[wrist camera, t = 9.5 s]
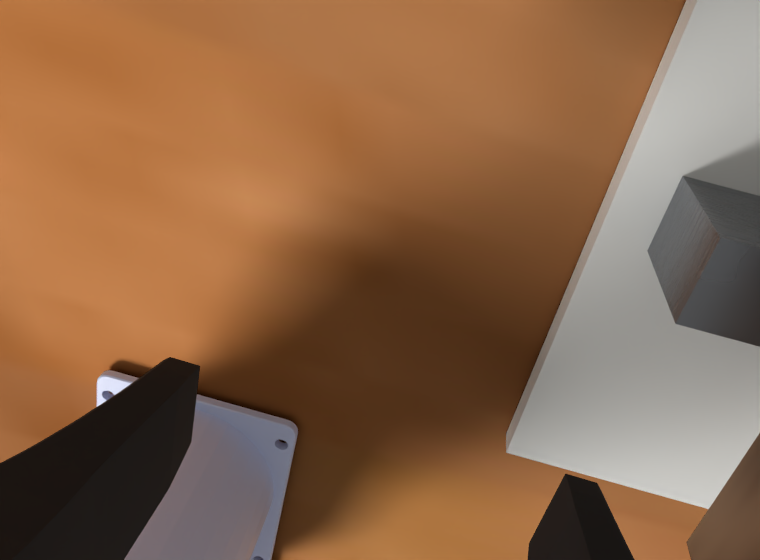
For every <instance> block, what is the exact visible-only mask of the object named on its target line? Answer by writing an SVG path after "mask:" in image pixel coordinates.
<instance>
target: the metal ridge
mask: <svg viewBox="0 0 760 560" xmlns="http://www.w3.org/2000/svg"><path fill="white" fill-rule="evenodd" d="M647 251H648V254H649V257H650V259H651V262H652V264H653V267H654V270H655V272H656V275H657V277H658V280H659V283H660V285H661V288H662V290H663V293H664V296H665V298H666V301H667V303H668V306H669V309H670V311H671V314H672V316H673V319H674V322H675V324H678V325H681V326H685V327H689V328H693V329H696V330H700V331H704V332H707V333H711V334H715V335H718V336H722V337H726V338H729V339H733V340H737V341H741V342H744V343H748V344H752V345H755V346H759V347H760V196H758V195H754V194H750V193H747V192H743V191H739V190H735V189H731V188H728V187H724V186H720V185H716V184H712V183H709V182H705V181H701V180H697V179H693V178H690V177H686V176H682V178H681V180H680V182H679V184H678V186H677V189H676V191H675V193H674V195H673V197H672V199H671V201H670V203H669V206H668V208H667V210H666V212H665V214H664V216H663V218H662V221H661V223H660V225H659V227H658V229H657V231H656V233H655V235H654V238H653V240H652V242H651V244H650V246H649V248H648V250H647Z"/></svg>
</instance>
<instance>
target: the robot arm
mask: <svg viewBox="0 0 760 560" xmlns="http://www.w3.org/2000/svg"><path fill="white" fill-rule="evenodd" d="M199 371H200V366H198V365H195V364H192V363H188V362H185V361H181V360H178V359H175V358H171V357H169V358H167V359H165V360H163V361H162V362H161V363H159V364H158V365H156V366H155V367H154V368H152V369H151V370H150V371H148V372H147V373H145V374H144V375H143V376H141V377H140V378H137V377H134V376H130V375H126V374H123V373H119V372H116V371H111V370H108V371H104V372H103V373H102V374H101V375H100V377H99V378H98V380H97V407H96V408H95V409H93V410H91V411H90V412H88V413H87V414H85V415H84V416H82V417H81V418H79V419H78V420H76V421H74V422H73V423H71V424H69V425H68V426H66V427H64V428H63V429H61V430H59V431H58V432H56V433H54V434H53V435H51V436H49V437H47V438H46V439H44V440H42V441H41V442H39V443H37V444H35V445H34V446H32V447H30V448H28V449H26V450H25V451H23V452H21V453H19V454H17V455H15V456H13V457H11V458H9V459H8V460H6V461H4V462H2V463H0V560H271V559H272V555H273V550H274V545H275V540H276V535H277V531H278V526H279V521H280V516H281V512H282V507H283V502H284V497H285V493H286V488H287V483H288V478H289V474H290V469H291V464H292V459H293V454H294V450H295V445H296V440H297V435H298V428H297V426H296V425H295V424H294V423H293V422H292V421H289V420H287V419H283V418H280V417H276V416H273V415H269V414H265V413H262V412H258V411H255V410H251V409H248V408H244V407H241V406H237V405H233V404H230V403H226V402H223V401H219V400H216V399H212V398H208V397H205V396H201V395H198V394H197V388H198V380H199ZM108 391H110V392H112V393H113V394H114V395H112V394H110V393H109V392H108ZM279 439H280V440H284V441H286V443H283V442H281V441H279ZM528 560H634V558H633V556H632V554H631V552H630V550H629V548H628V546H627V544H626V542H625V540H624V538H623V536H622V534H621V532H620V529H619V527H618V525H617V523H616V521H615V519H614V517H613V515H612V513H611V511H610V508H609V506H608V504H607V502H606V500H605V498H604V496H603V494H602V492H601V490H600V488H599V486H598V484H597V483H595V482H592V481H588V480H585V479H582V478H578V477H575V476H571V475H568V474H565V476H564V477H563V479H562V481H561V483H560V485H559V487H558V489H557V491H556V493H555V495H554V497H553V499H552V500H551V502H550V504H549V506H548V508H547V510H546V512H545V514H544V516H543V518H542V520H541V522H540V523H539V525H538V527H537V529H536V531H535V533H534V535H533V537H532V539H531V541H530V543H529V551H528Z"/></svg>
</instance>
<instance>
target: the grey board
mask: <svg viewBox="0 0 760 560" xmlns="http://www.w3.org/2000/svg"><path fill="white" fill-rule="evenodd" d="M682 176H686V177H690V178H693V179H697V180H701V181H705V182H709V183H712V184H716V185H720V186H724V187H728V188H731V189H735V190H739V191H743V192H747V193H750V194H754V195H758V196H760V0H686V2H685V4H684V7H683V9H682V12H681V14H680V17H679V19H678V21H677V24H676V26H675V29H674V31H673V33H672V36H671V38H670V41H669V43H668V45H667V48H666V50H665V53H664V55H663V57H662V60H661V62H660V65H659V67H658V69H657V72H656V74H655V77H654V79H653V82H652V84H651V86H650V89H649V91H648V94H647V96H646V98H645V101H644V103H643V106H642V108H641V110H640V113H639V115H638V118H637V120H636V122H635V125H634V127H633V130H632V132H631V134H630V137H629V139H628V142H627V144H626V146H625V149H624V151H623V154H622V156H621V159H620V161H619V163H618V166H617V168H616V171H615V173H614V175H613V178H612V180H611V183H610V185H609V187H608V190H607V192H606V195H605V197H604V199H603V202H602V204H601V207H600V209H599V212H598V214H597V216H596V219H595V221H594V224H593V226H592V228H591V231H590V233H589V236H588V238H587V240H586V243H585V245H584V248H583V250H582V252H581V255H580V257H579V260H578V262H577V264H576V267H575V269H574V272H573V274H572V276H571V279H570V281H569V284H568V286H567V289H566V291H565V293H564V296H563V298H562V301H561V303H560V305H559V308H558V310H557V313H556V315H555V317H554V320H553V322H552V325H551V327H550V329H549V332H548V334H547V337H546V339H545V342H544V344H543V346H542V349H541V351H540V354H539V356H538V358H537V361H536V363H535V366H534V368H533V370H532V373H531V375H530V378H529V380H528V382H527V385H526V387H525V390H524V392H523V394H522V397H521V399H520V402H519V404H518V406H517V409H516V411H515V414H514V416H513V419H512V421H511V423H510V426H509V428H508V431H507V433H506V453H510V454H513V455H517V456H520V457H524V458H528V459H531V460H535V461H538V462H542V463H545V464H549V465H553V466H556V467H560V468H563V469H567V470H571V471H574V472H578V473H581V474H585V475H588V476H592V477H596V478H599V479H603V480H606V481H610V482H613V483H617V484H621V485H624V486H628V487H631V488H635V489H639V490H642V491H646V492H649V493H653V494H656V495H660V496H664V497H667V498H671V499H674V500H678V501H682V502H685V503H689V504H692V505H696V506H699V507H703V508H707V509H709V508H710V506H711V505H712V503H713V502H714V500H715V499H716V497H717V496H718V494H719V493H720V491H721V490H722V488H723V487H724V486H725V484H726V483H727V481H728V480H729V478H730V477H731V475H732V474H733V472H734V471H735V469H736V468H737V466H738V465H739V463H740V462H741V460H742V459H743V457H744V456H745V454H746V453H747V451H748V450H749V448H750V447H751V445H752V444H753V442H754V441H755V439H756V438H757V436H758V435H759V433H760V347H759V346H755V345H752V344H748V343H744V342H741V341H737V340H733V339H729V338H726V337H722V336H718V335H715V334H711V333H707V332H704V331H700V330H696V329H693V328H689V327H685V326H681V325H678V324H675V322H674V319H673V316H672V314H671V311H670V309H669V306H668V303H667V301H666V298H665V296H664V293H663V290H662V288H661V285H660V283H659V280H658V277H657V275H656V272H655V270H654V267H653V264H652V262H651V259H650V257H649V254H648V251H647V250H648V248H649V246H650V244H651V242H652V240H653V238H654V235H655V233H656V231H657V229H658V227H659V225H660V223H661V221H662V218H663V216H664V214H665V212H666V210H667V208H668V206H669V203H670V201H671V199H672V197H673V195H674V193H675V191H676V189H677V186H678V184H679V182H680V180H681V178H682Z"/></svg>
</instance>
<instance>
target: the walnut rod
mask: <svg viewBox="0 0 760 560" xmlns="http://www.w3.org/2000/svg"><path fill="white" fill-rule="evenodd" d="M687 546H688V550H689V553H690V557H691V560H760V433H759V435H758V436H757V438H756V439H755V441H754V442H753V444H752V445H751V447H750V448H749V450H748V451H747V453H746V454H745V456H744V457H743V459H742V460H741V462H740V463H739V465H738V466H737V468H736V469H735V471H734V472H733V474H732V475H731V477H730V478H729V480H728V481H727V483H726V484H725V486H724V487H723V488H722V490H721V491H720V493H719V494H718V496H717V497H716V499H715V500H714V502H713V503H712V505H711V506H710V508H709V509H708V511H707V512H706V514H705V515H704V517H703V518H702V520H701V521H700V523H699V524H698V526H697V527H696V529H695V530H694V532H693V533H692V535H691V536H690V538H689V539H688V541H687Z"/></svg>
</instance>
